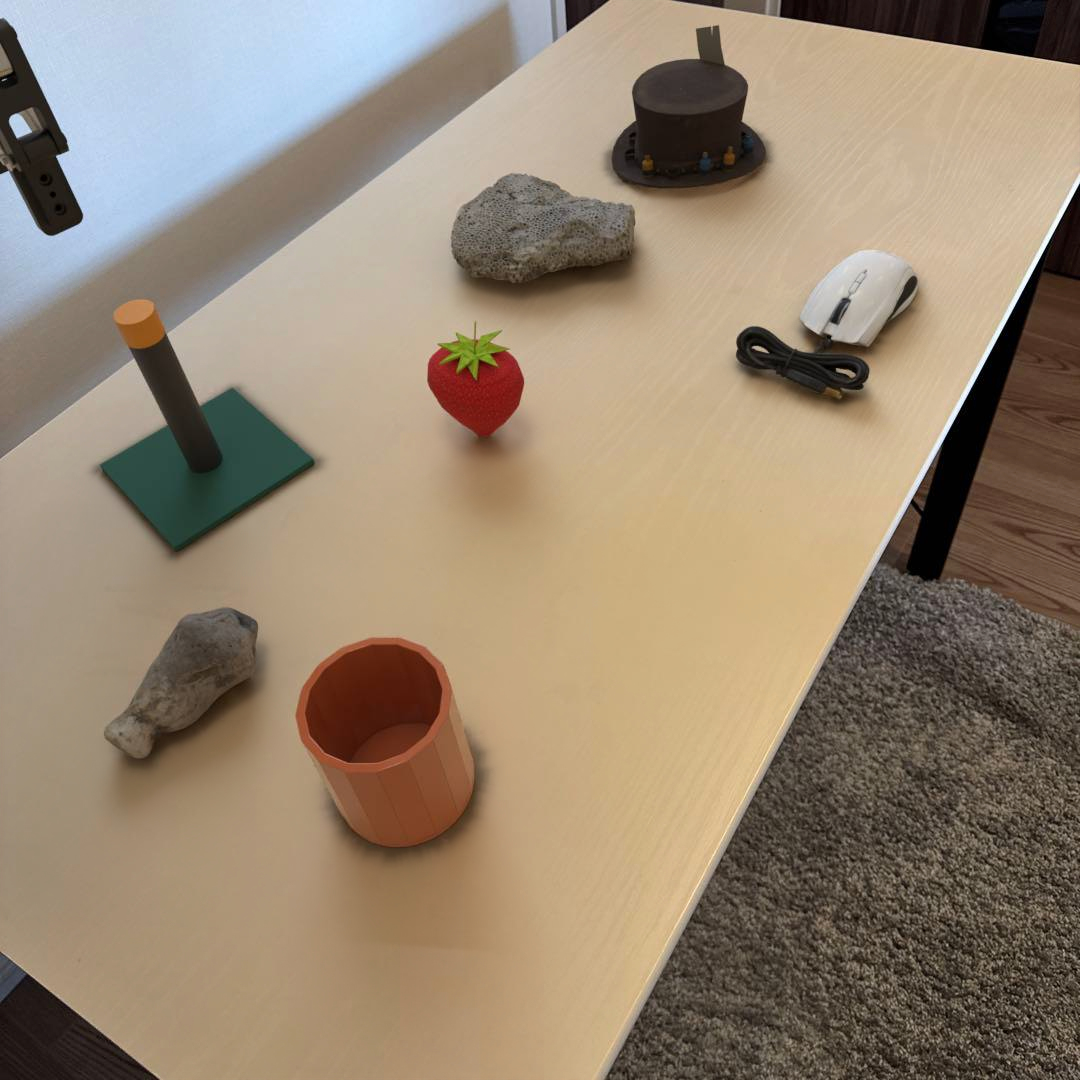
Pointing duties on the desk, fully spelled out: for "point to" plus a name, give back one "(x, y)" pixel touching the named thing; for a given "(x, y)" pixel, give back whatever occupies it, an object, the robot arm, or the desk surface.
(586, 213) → the rock
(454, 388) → the strawberry
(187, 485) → the mat
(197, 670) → the stone
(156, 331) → the marker
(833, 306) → the computer mouse
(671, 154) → the top hat
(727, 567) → the desk surface
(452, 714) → the pen cup
